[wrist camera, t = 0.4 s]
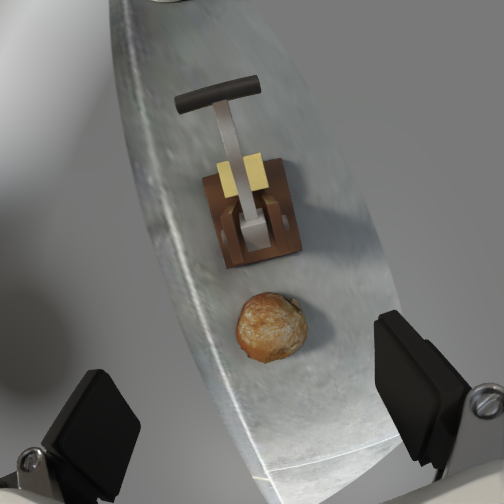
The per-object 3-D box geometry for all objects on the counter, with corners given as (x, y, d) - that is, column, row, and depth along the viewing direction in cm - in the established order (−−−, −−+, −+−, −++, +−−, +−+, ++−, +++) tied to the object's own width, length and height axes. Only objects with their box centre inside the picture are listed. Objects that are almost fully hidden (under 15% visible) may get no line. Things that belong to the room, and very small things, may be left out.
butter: (219, 164, 34) (216, 163, 31) (259, 154, 34) (260, 152, 30) (227, 196, 35) (225, 198, 32) (267, 186, 35) (269, 187, 32)
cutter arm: (176, 94, 19) (172, 99, 17) (254, 73, 18) (258, 76, 16) (226, 241, 28) (227, 257, 26) (286, 226, 28) (292, 241, 26)
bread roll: (306, 308, 44) (329, 312, 37) (278, 367, 42) (296, 382, 34) (250, 281, 43) (264, 279, 35) (220, 343, 41) (227, 355, 33)
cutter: (203, 177, 35) (179, 180, 23) (280, 158, 35) (296, 150, 23) (227, 265, 39) (218, 309, 26) (301, 248, 38) (324, 284, 26)
